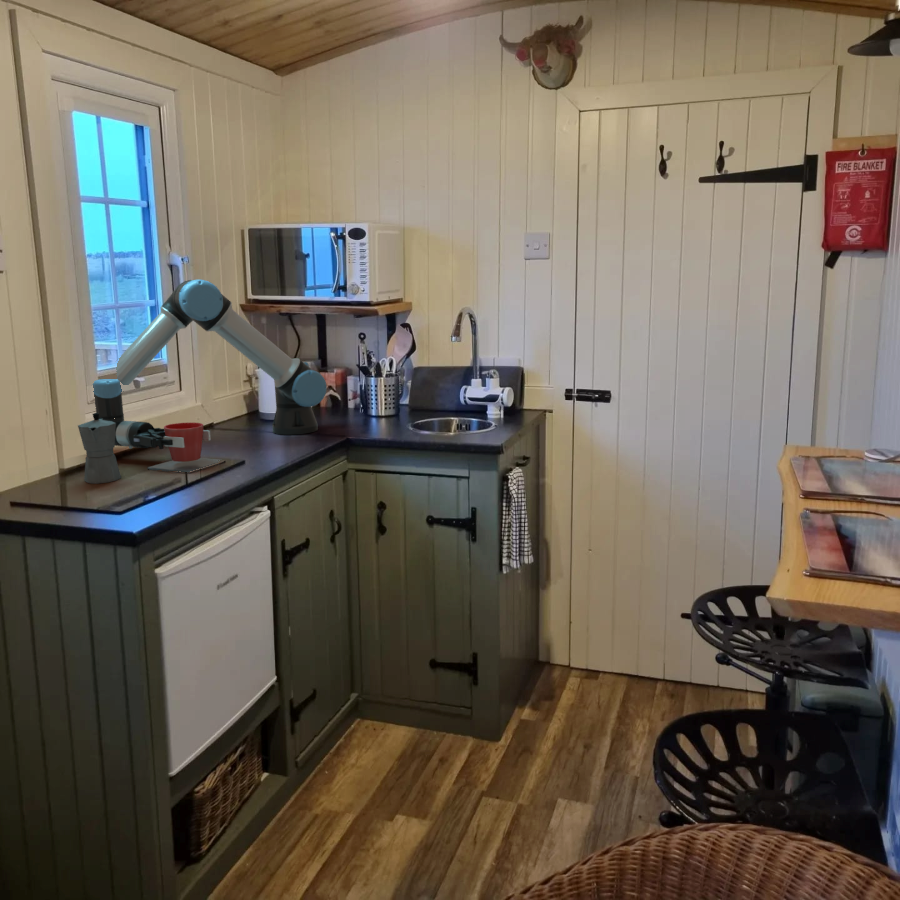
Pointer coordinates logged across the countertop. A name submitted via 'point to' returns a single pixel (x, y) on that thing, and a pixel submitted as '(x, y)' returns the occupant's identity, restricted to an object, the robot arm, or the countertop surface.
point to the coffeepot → (99, 450)
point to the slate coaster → (184, 465)
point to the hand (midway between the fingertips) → (196, 439)
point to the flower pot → (186, 441)
